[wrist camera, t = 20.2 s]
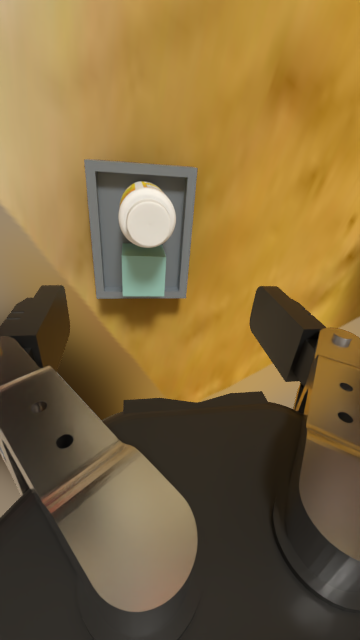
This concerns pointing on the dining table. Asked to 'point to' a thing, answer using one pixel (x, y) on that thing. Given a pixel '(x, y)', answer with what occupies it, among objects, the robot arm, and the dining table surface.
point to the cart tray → (108, 237)
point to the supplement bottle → (146, 215)
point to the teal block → (143, 270)
